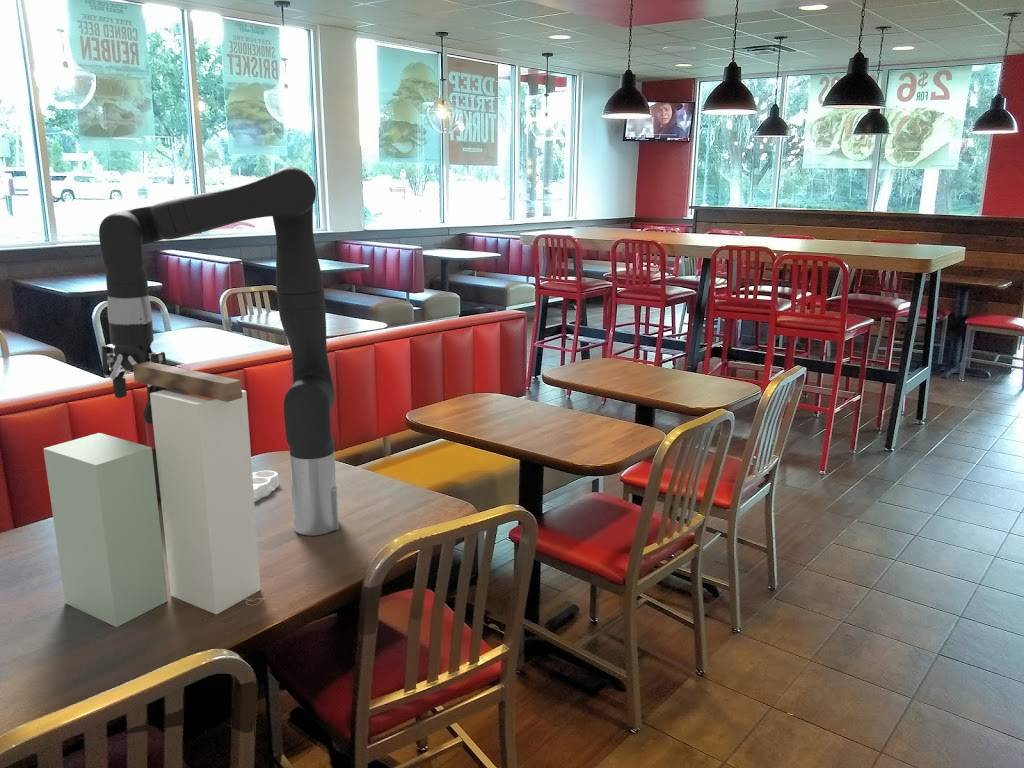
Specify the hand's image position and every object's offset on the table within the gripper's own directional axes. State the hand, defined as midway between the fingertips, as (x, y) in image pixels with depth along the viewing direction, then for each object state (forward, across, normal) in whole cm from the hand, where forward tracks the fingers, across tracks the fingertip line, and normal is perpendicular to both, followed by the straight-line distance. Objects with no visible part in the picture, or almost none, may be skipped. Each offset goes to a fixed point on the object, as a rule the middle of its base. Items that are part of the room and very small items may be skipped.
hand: (137, 400), depth 156 cm
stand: (+30, +27, -10) cm, 41 cm away
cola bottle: (+31, -14, +20) cm, 40 cm away
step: (+30, +13, -20) cm, 39 cm away
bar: (-8, +23, -10) cm, 26 cm away
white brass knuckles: (+31, 0, +28) cm, 42 cm away
